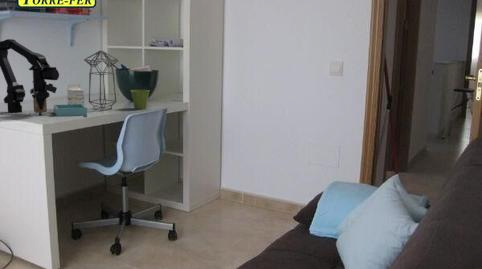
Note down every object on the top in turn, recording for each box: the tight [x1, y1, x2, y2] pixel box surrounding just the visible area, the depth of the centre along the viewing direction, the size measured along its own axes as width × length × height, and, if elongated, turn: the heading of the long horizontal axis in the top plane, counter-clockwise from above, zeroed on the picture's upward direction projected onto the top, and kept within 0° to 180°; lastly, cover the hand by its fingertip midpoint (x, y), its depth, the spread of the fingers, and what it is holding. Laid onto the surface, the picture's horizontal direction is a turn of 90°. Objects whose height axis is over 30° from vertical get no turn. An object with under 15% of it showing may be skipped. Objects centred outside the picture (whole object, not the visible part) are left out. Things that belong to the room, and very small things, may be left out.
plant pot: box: [130, 89, 150, 110], centre depth 296 cm, size 12×12×11 cm
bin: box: [53, 104, 88, 118], centre depth 260 cm, size 15×15×5 cm
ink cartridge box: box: [67, 83, 85, 106], centre depth 284 cm, size 9×5×15 cm, turn 141°
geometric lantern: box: [83, 50, 119, 111], centre depth 284 cm, size 16×16×35 cm
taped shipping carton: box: [32, 97, 48, 113], centre depth 252 cm, size 5×5×7 cm
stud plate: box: [29, 112, 52, 117], centre depth 253 cm, size 10×10×5 cm
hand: (40, 108), depth 252 cm, fingers closed on taped shipping carton, 5 cm apart
